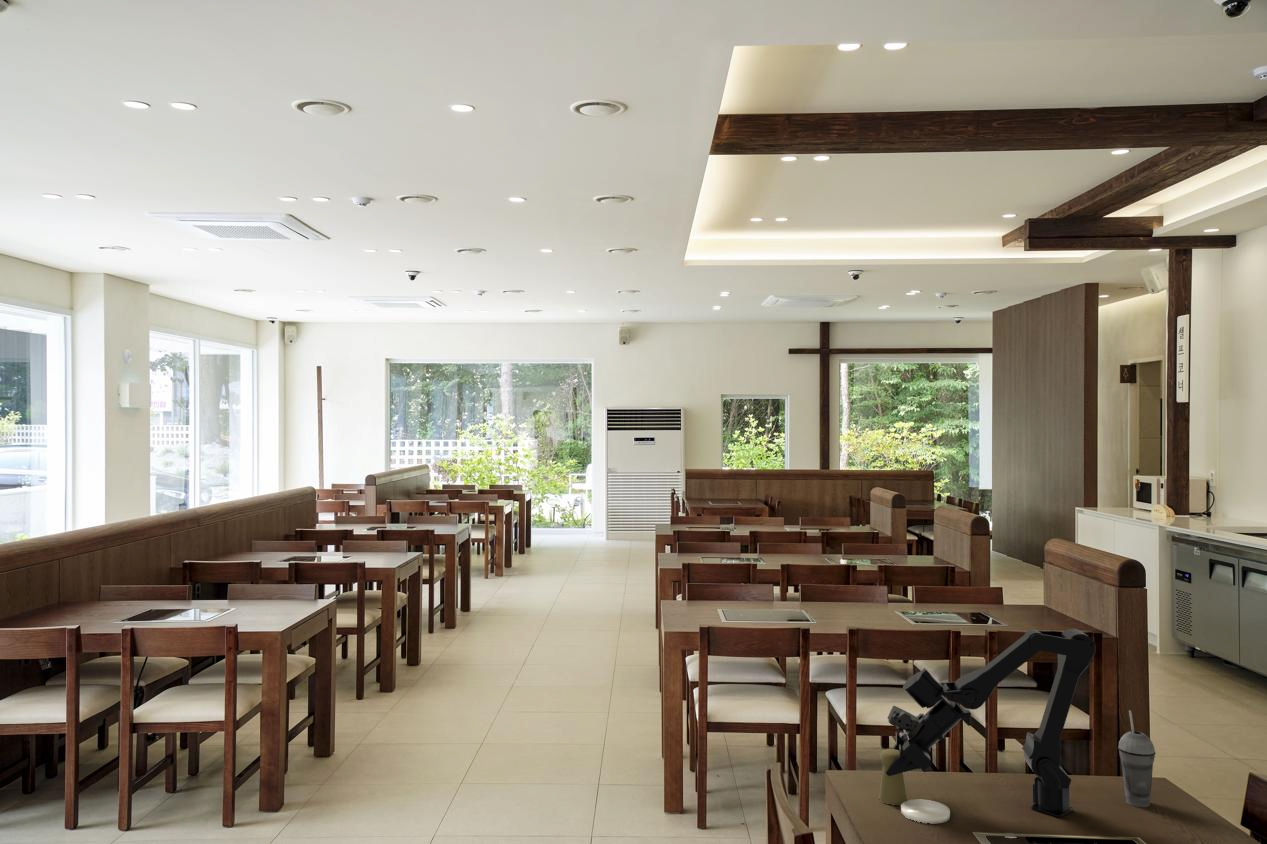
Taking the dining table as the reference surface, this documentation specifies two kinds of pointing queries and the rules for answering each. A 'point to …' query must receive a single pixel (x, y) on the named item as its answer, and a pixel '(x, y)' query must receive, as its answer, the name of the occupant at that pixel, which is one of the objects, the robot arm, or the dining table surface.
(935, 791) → the dining table surface
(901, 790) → the cork
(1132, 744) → the beverage cup
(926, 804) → the coaster
